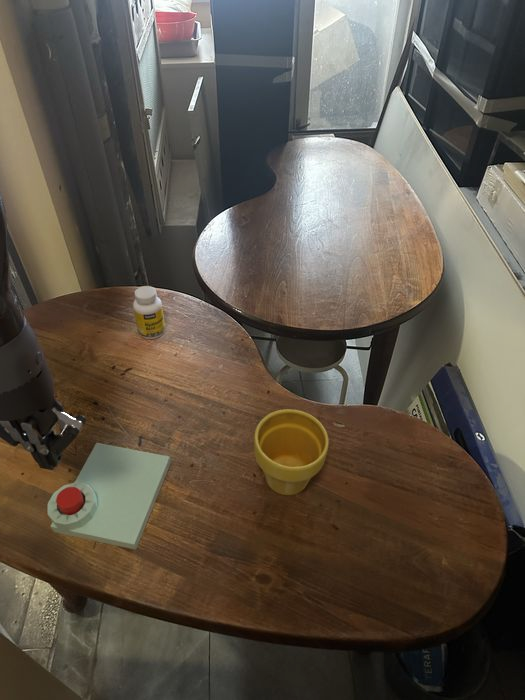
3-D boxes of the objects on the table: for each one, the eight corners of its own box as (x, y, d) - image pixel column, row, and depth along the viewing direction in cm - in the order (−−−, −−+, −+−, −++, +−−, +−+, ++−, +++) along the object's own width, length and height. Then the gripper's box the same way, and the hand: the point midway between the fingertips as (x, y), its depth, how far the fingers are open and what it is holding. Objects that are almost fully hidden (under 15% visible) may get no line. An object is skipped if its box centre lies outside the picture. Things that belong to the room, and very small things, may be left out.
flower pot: (318, 447, 77) (325, 408, 70) (324, 507, 69) (332, 470, 63) (253, 447, 77) (254, 407, 70) (252, 506, 69) (253, 469, 62)
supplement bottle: (146, 344, 94) (139, 304, 87) (133, 329, 97) (124, 290, 90) (170, 332, 96) (165, 293, 90) (156, 319, 99) (150, 279, 93)
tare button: (55, 512, 65) (51, 505, 63) (66, 491, 67) (63, 484, 66) (77, 516, 64) (73, 510, 63) (88, 495, 67) (85, 489, 65)
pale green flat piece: (46, 531, 66) (38, 518, 64) (92, 447, 76) (87, 434, 74) (136, 550, 64) (131, 538, 62) (171, 462, 74) (168, 449, 72)
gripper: (-86, 379, 45) (-16, 479, 57) (44, 403, 43) (87, 501, 55) (-35, 328, 51) (19, 429, 62) (82, 347, 49) (115, 447, 61)
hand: (51, 463), depth 59 cm, fingers closed
